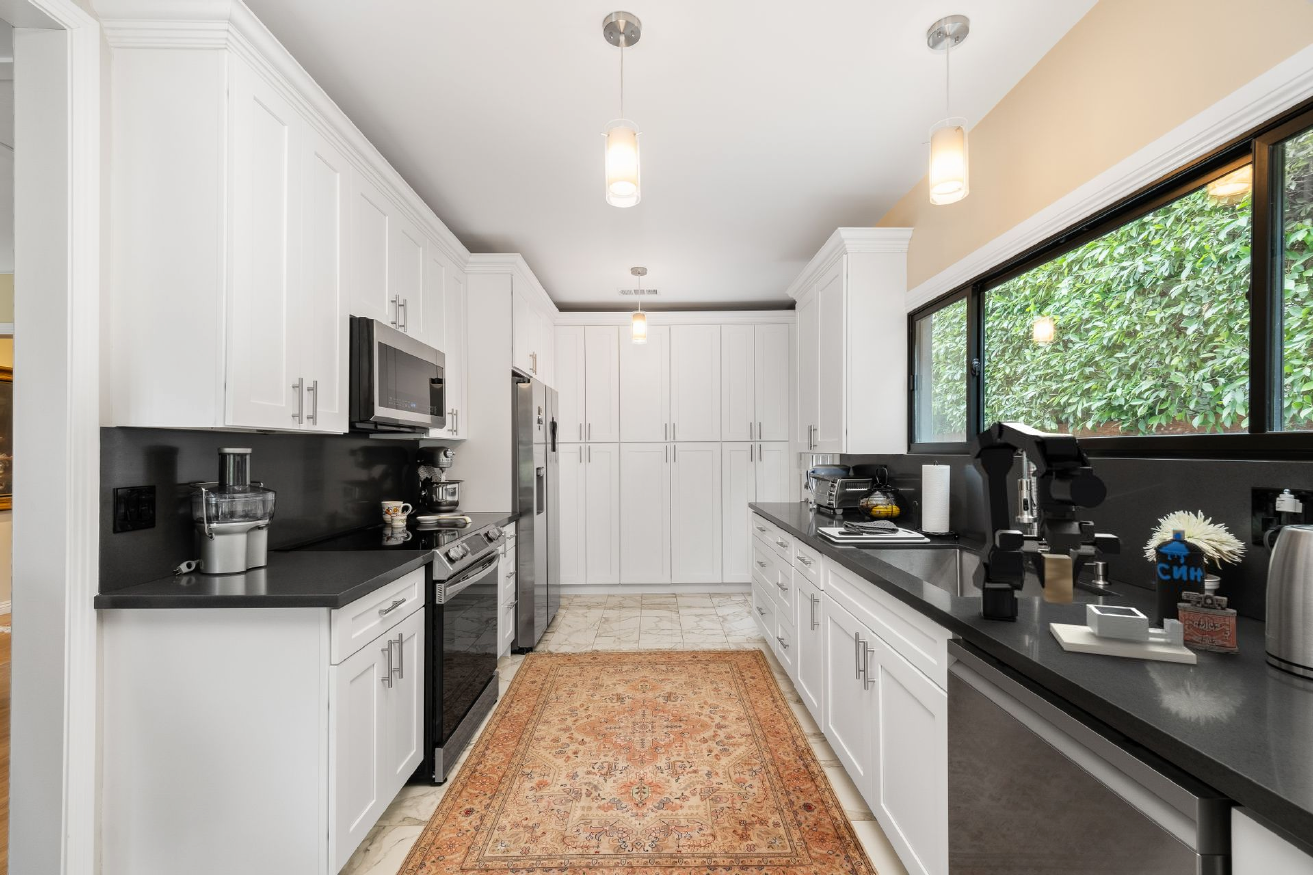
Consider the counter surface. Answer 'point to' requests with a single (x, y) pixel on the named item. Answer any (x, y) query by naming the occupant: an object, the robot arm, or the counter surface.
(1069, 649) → the bracket board
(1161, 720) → the counter surface
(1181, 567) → the aerosol can
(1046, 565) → the oak rail post
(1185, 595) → the lighter
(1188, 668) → the counter surface
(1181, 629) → the bracket
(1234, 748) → the counter surface
